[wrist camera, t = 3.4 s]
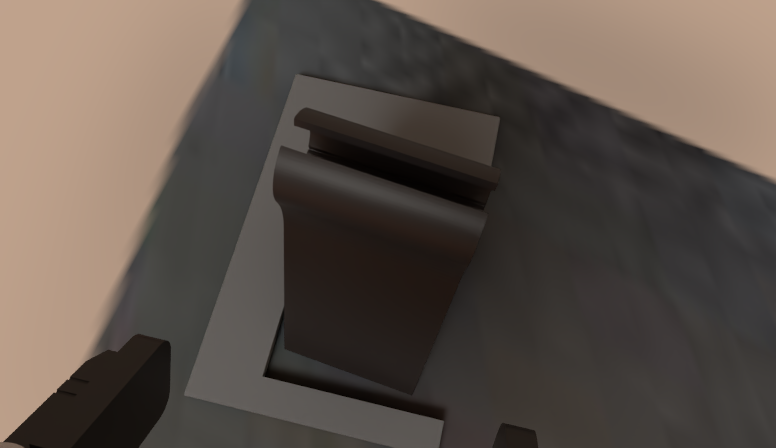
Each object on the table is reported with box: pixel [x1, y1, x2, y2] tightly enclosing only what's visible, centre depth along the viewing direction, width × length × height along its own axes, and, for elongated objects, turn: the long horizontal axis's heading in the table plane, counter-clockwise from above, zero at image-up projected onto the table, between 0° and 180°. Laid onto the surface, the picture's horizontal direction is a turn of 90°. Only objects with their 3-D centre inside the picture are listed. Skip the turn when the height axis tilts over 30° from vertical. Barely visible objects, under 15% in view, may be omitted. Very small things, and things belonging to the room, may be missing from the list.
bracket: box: [184, 74, 500, 448], centre depth 27 cm, size 11×17×1 cm, turn 167°
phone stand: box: [273, 107, 501, 395], centre depth 21 cm, size 9×6×12 cm, turn 160°
